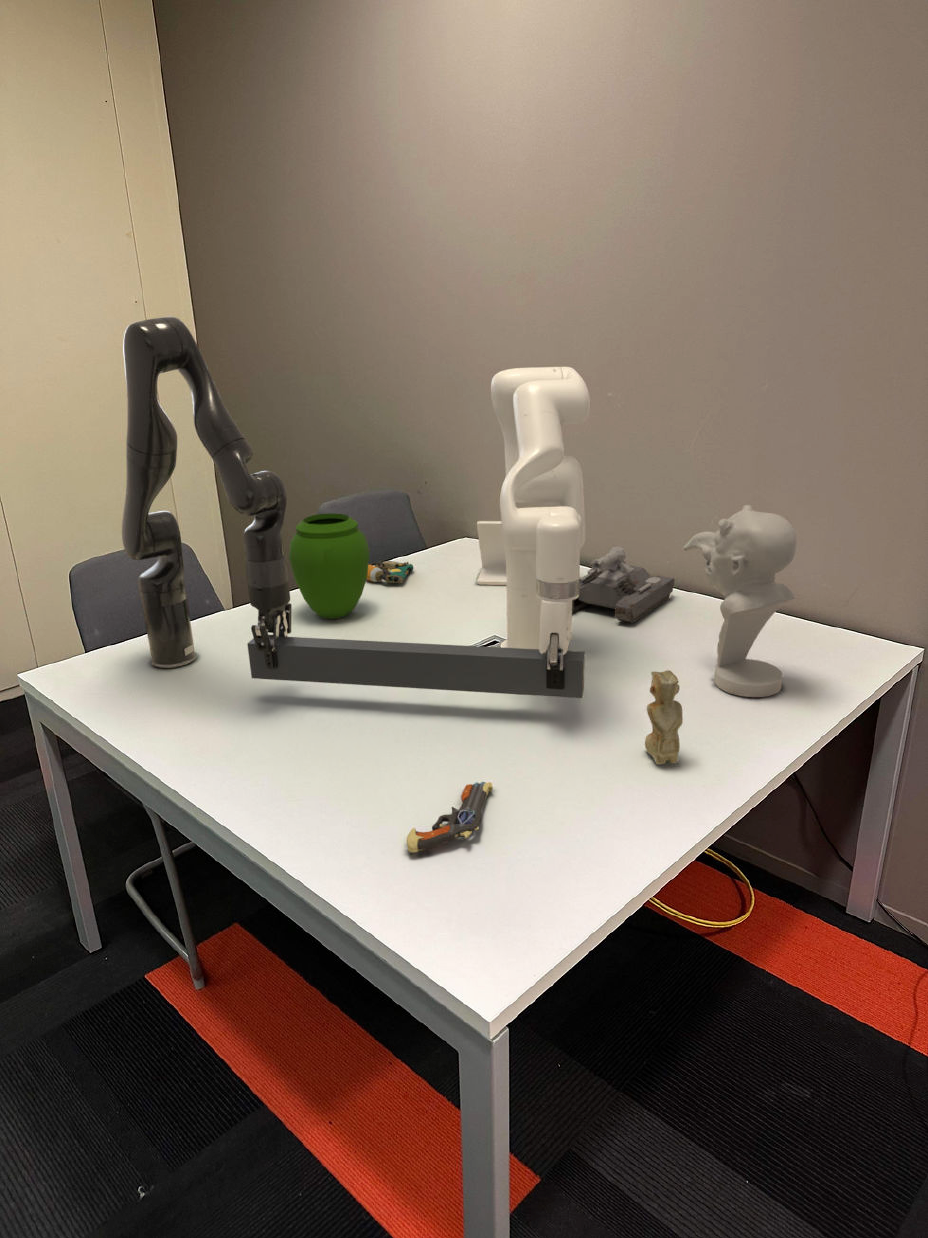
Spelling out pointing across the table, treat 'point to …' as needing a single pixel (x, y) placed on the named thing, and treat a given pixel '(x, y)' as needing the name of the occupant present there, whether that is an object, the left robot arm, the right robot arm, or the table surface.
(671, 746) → the sculpture
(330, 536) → the vase
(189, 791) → the table surface
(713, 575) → the bust sculpture
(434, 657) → the beam
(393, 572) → the spray gun
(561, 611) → the right robot arm
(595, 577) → the toy
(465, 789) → the toy gun
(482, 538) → the tablet stand
